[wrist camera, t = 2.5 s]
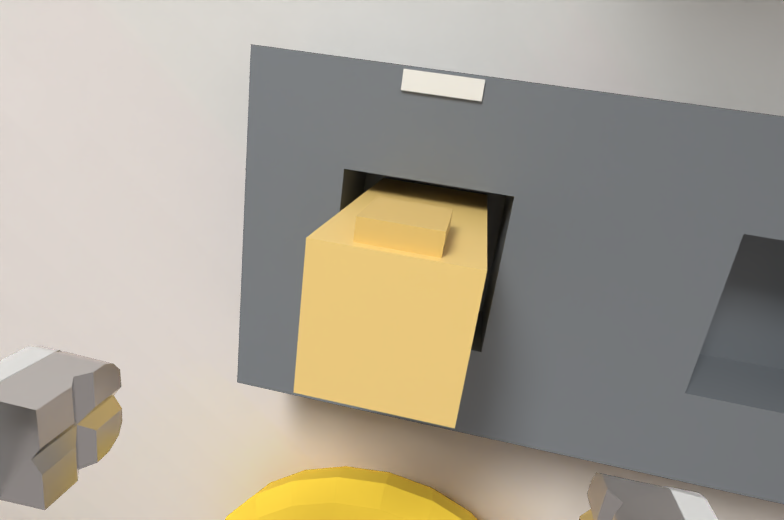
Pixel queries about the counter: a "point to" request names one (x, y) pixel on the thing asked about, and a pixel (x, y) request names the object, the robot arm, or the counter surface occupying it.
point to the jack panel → (550, 254)
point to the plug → (394, 301)
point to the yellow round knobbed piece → (348, 498)
